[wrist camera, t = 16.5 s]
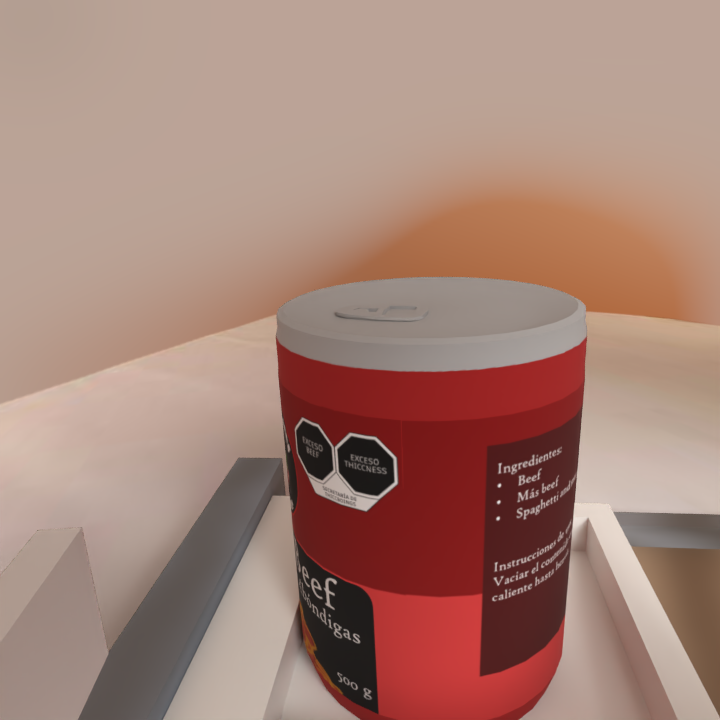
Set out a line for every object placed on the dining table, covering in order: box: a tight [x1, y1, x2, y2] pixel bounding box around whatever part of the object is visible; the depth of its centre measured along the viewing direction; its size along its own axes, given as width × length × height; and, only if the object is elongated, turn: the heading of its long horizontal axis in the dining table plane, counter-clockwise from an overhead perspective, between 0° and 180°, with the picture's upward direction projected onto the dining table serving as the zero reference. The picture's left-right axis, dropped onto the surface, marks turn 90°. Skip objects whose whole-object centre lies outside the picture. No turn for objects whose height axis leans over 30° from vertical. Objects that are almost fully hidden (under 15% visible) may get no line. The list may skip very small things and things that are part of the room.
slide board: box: [78, 458, 720, 720], centre depth 18 cm, size 27×16×4 cm, turn 84°
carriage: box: [163, 496, 720, 720], centre depth 19 cm, size 14×12×2 cm
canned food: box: [276, 277, 587, 720], centre depth 17 cm, size 8×8×11 cm
